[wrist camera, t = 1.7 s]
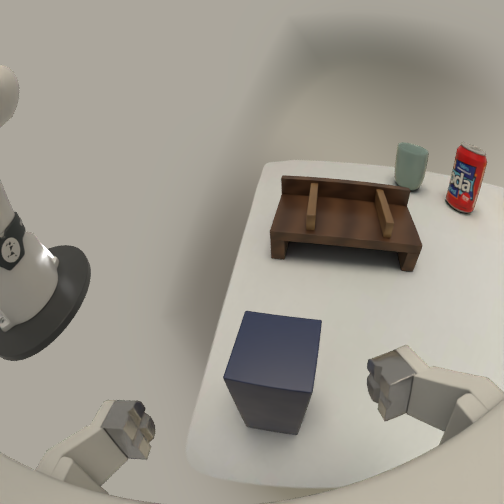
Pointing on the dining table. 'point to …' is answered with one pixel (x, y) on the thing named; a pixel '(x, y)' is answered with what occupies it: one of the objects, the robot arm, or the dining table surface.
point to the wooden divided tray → (345, 217)
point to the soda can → (466, 177)
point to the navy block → (273, 370)
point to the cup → (410, 165)
